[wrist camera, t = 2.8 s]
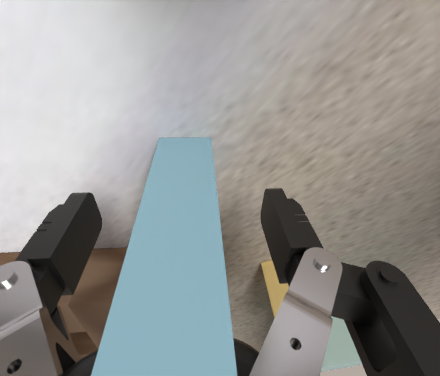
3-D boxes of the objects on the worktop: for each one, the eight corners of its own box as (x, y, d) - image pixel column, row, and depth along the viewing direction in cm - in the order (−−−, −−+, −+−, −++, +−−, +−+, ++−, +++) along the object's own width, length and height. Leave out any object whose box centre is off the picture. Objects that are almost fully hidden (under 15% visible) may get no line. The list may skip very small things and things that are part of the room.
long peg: (210, 137, 14) (241, 412, 5) (210, 179, 16) (231, 439, 6) (159, 137, 14) (75, 428, 4) (164, 180, 16) (115, 451, 6)
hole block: (142, 247, 19) (129, 301, 16) (160, 317, 27) (154, 365, 23) (-18, 253, 18) (-70, 313, 15) (46, 325, 26) (21, 376, 22)
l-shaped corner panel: (279, 332, 33) (297, 404, 27) (273, 287, 26) (297, 371, 20) (367, 317, 32) (406, 388, 26) (387, 266, 25) (446, 347, 19)
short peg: (293, 255, 22) (320, 325, 17) (294, 274, 24) (319, 341, 19) (260, 262, 22) (278, 333, 17) (264, 280, 24) (281, 348, 19)
